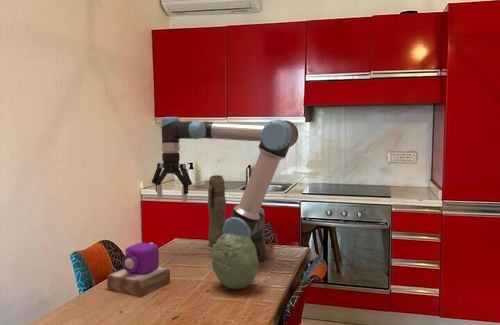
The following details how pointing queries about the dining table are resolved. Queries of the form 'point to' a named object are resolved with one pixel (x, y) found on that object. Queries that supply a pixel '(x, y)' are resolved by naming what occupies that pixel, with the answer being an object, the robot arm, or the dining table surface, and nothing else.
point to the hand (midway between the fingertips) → (171, 200)
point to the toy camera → (141, 258)
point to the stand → (138, 281)
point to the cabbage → (234, 260)
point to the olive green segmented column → (216, 208)
